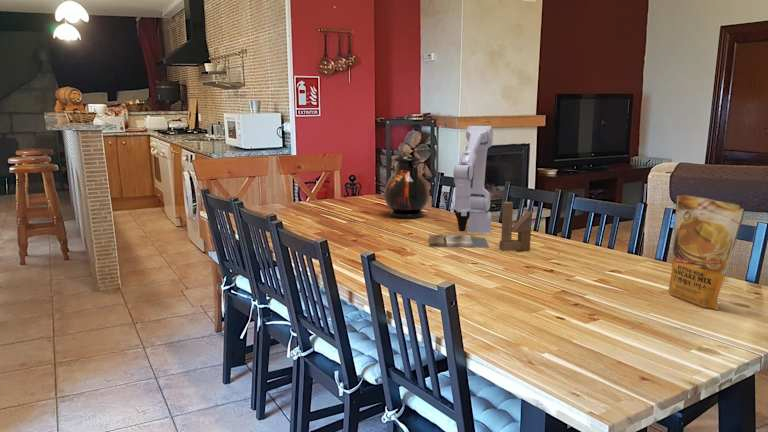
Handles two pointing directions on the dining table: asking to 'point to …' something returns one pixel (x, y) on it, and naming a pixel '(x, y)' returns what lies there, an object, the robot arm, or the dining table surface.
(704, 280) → the pancake mix bag
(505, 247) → the brown wooden upright frame
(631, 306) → the dining table surface
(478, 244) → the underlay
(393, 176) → the amphora vase
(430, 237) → the laid plank
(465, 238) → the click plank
